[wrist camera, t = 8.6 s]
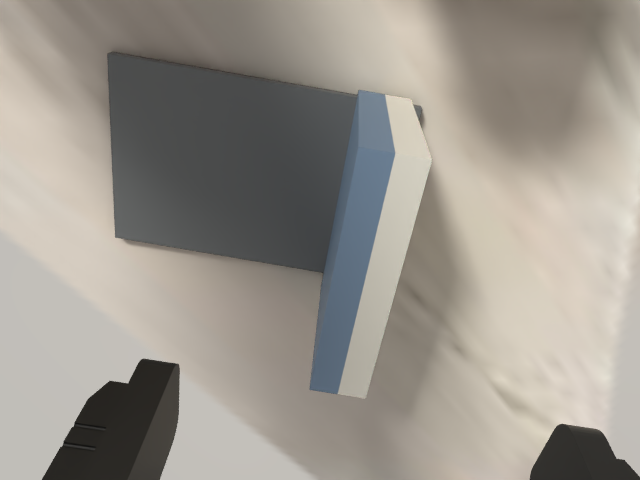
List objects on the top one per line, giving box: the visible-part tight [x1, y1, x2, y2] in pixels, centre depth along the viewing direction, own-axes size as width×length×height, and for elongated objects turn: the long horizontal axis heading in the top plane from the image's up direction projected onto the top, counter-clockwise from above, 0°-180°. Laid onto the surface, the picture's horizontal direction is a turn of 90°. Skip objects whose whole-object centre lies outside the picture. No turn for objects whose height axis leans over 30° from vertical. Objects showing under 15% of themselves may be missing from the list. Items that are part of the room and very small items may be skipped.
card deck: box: [310, 90, 432, 399], centre depth 19 cm, size 6×2×9 cm
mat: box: [107, 52, 422, 273], centre depth 22 cm, size 8×12×1 cm, turn 81°
